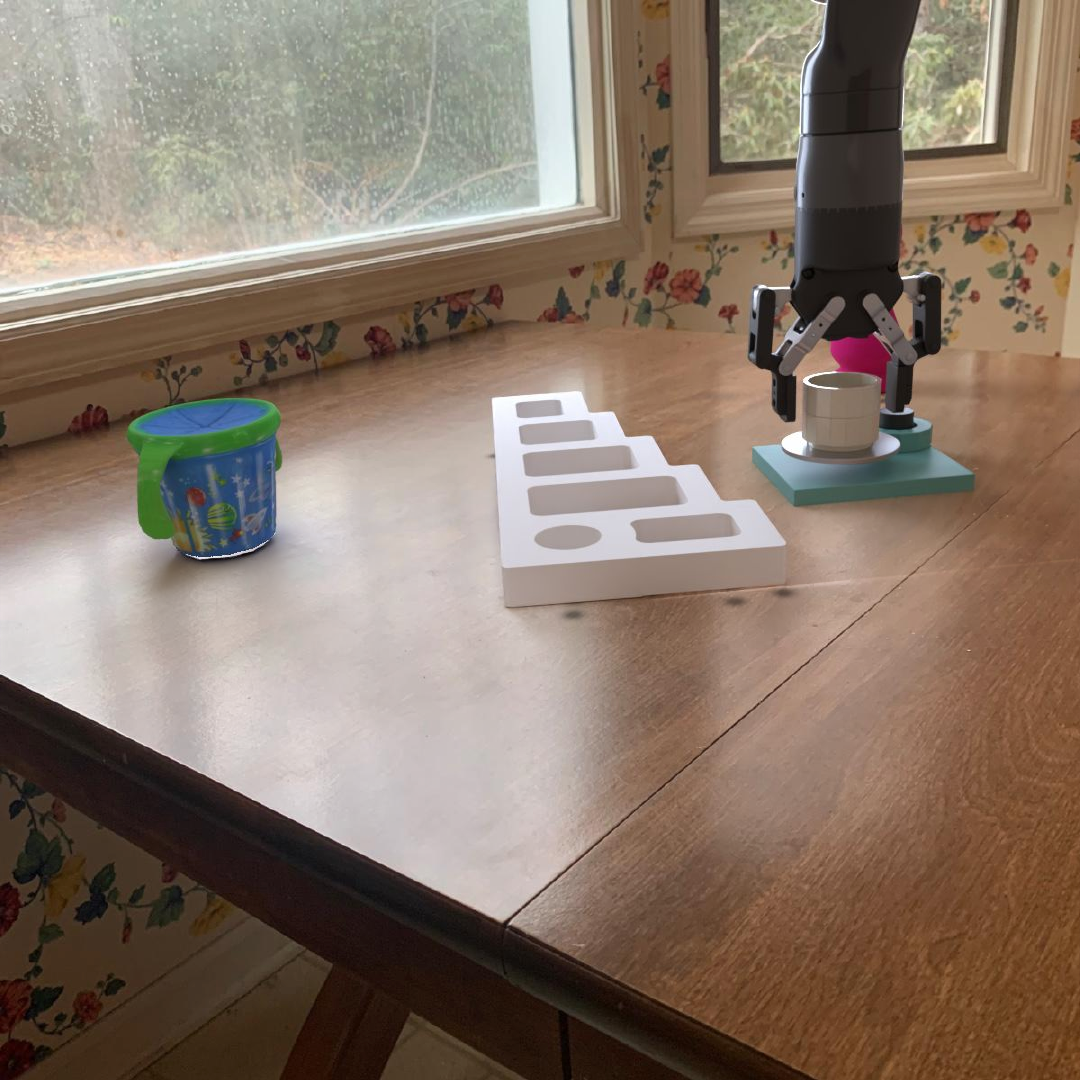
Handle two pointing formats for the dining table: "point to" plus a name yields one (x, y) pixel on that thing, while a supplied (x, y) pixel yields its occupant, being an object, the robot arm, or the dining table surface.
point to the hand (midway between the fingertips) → (841, 415)
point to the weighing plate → (877, 452)
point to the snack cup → (208, 474)
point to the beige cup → (841, 411)
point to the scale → (867, 472)
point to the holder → (613, 512)
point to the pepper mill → (863, 354)
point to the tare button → (896, 419)
